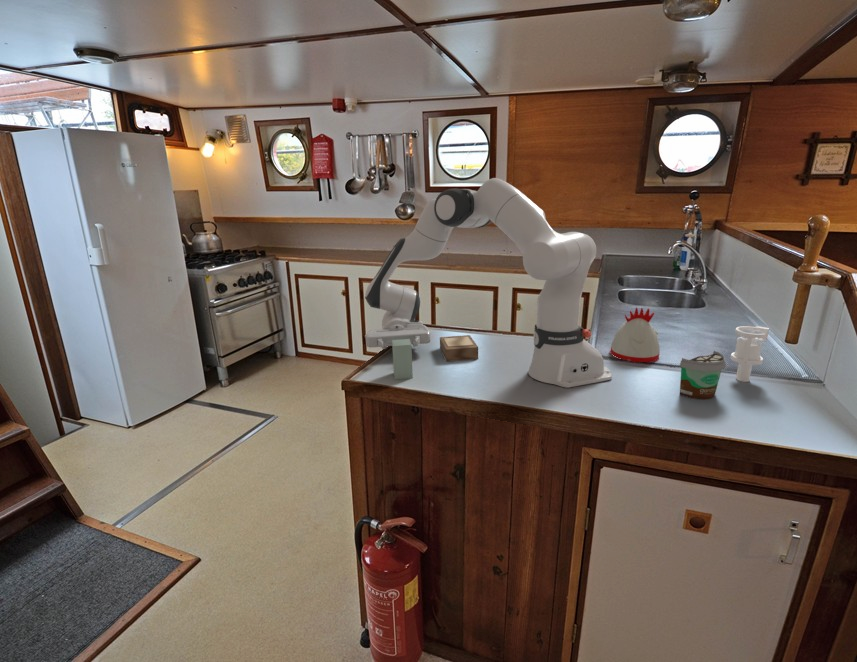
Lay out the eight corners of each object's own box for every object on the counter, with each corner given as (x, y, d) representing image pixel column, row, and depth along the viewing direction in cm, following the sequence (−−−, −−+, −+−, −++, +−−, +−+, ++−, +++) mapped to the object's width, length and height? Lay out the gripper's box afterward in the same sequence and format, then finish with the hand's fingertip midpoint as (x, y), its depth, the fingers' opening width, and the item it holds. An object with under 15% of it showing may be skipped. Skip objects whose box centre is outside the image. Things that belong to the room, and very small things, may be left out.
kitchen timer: (664, 364, 140) (670, 314, 135) (614, 361, 142) (619, 313, 138) (652, 348, 153) (658, 302, 148) (607, 346, 155) (611, 301, 151)
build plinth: (469, 346, 158) (469, 334, 157) (478, 359, 147) (478, 346, 146) (439, 348, 157) (439, 336, 156) (446, 361, 146) (446, 348, 145)
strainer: (757, 387, 123) (768, 331, 118) (725, 380, 127) (735, 327, 123) (759, 378, 128) (770, 324, 124) (729, 372, 132) (738, 320, 128)
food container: (697, 405, 114) (703, 366, 111) (675, 395, 120) (680, 358, 117) (732, 395, 119) (738, 357, 116) (709, 386, 124) (715, 350, 121)
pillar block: (410, 371, 139) (409, 338, 136) (412, 378, 135) (411, 344, 132) (393, 372, 139) (392, 340, 136) (395, 379, 134) (393, 346, 131)
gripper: (364, 324, 155) (364, 337, 141) (426, 320, 157) (432, 332, 144) (365, 343, 156) (366, 357, 143) (427, 338, 159) (433, 352, 146)
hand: (399, 345), depth 144 cm, fingers open, 8 cm apart
